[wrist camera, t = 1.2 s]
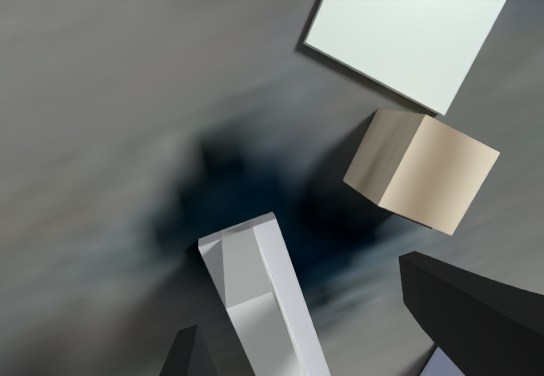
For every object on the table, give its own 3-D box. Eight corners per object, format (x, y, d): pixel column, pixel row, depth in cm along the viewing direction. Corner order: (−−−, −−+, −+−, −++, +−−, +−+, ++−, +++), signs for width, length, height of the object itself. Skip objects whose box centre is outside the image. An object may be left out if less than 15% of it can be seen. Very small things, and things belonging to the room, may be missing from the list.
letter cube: (438, 139, 22) (499, 152, 17) (401, 207, 23) (450, 237, 18) (377, 108, 21) (425, 114, 16) (341, 182, 22) (376, 208, 17)
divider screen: (198, 238, 21) (191, 322, 14) (272, 211, 22) (305, 278, 14) (274, 410, 26) (300, 539, 19) (333, 386, 27) (381, 503, 19)
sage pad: (504, -11, 20) (513, -14, 19) (438, 114, 22) (444, 115, 21) (367, -108, 17) (372, -114, 17) (302, 43, 19) (305, 42, 18)
